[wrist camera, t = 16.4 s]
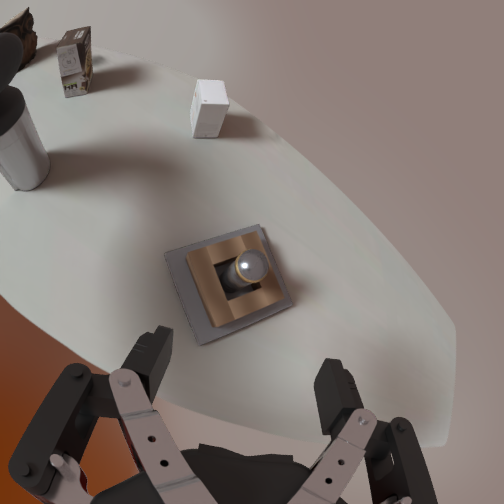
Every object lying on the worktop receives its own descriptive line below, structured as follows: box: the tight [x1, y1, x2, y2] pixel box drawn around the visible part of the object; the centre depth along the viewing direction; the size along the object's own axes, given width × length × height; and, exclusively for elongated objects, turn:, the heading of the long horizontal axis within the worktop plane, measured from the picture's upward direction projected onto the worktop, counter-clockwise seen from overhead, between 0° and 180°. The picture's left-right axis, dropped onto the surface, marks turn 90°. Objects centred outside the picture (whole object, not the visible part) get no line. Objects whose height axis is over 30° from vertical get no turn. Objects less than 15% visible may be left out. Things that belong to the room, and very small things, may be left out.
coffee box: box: [57, 26, 93, 98], centre depth 40 cm, size 9×6×16 cm
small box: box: [190, 80, 230, 138], centre depth 50 cm, size 8×6×10 cm
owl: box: [0, 7, 37, 72], centre depth 33 cm, size 13×13×20 cm
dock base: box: [164, 224, 293, 345], centre depth 46 cm, size 18×16×2 cm
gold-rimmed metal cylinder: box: [219, 249, 269, 293], centre depth 40 cm, size 4×4×12 cm
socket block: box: [186, 231, 285, 327], centre depth 44 cm, size 12×12×4 cm
